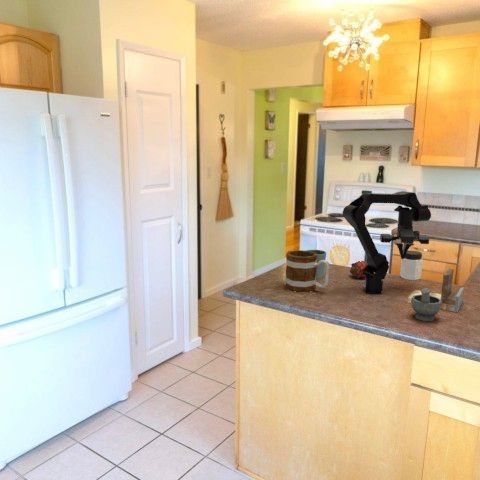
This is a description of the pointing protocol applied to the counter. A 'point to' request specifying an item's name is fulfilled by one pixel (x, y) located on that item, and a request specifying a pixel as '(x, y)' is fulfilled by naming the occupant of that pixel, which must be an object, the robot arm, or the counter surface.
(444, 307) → the board
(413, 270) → the jar
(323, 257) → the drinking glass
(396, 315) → the counter surface
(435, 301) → the mortar and pestle
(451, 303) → the bookend block
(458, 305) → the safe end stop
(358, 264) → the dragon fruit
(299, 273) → the mug
